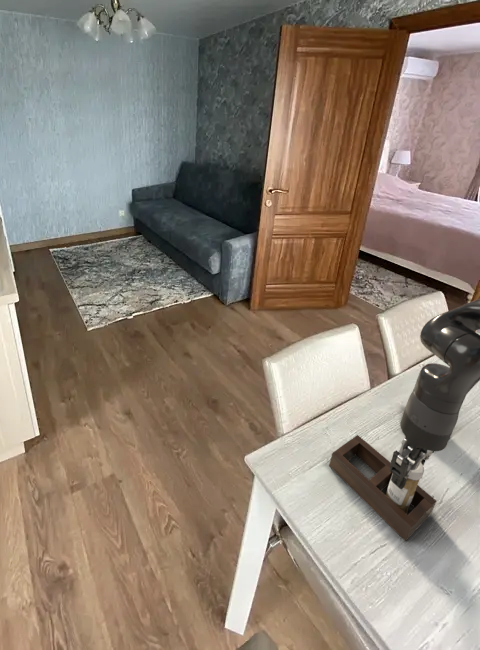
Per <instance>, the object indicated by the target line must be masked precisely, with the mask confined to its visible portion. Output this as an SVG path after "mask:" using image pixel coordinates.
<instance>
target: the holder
mask: <svg viewBox="0 0 480 650" xmlns="http://www.w3.org/2000/svg"><path fill="white" fill-rule="evenodd" d="M355 457H357V458H358V459H359V460H360V461H361V462H362V463H363V464H365V465H366V466H367V467H368V468H369V469H370V470H371V471H373V473H375V474H374V475H373V476H372V477H370V478H369V479H368V477H367V476H366V475H365V474H364V473H362V472H361V471H360V470H359V469H358V468H357V467H356V466H355V465H353V464H352V463H351V462H350V460H352V459H353V458H355ZM390 464H391V461H390V460H388V459H387V458H386V457H385V456H384V455H382V454H381V453H380V452H379V451H378V450H376V449H375V448H374V447H373V446H372V445H370V444H369V443H368V442H367V441H365V439H363V438H362V437H361V436H360V435H359V434H357V435H355V436H353V437H352V438H351V439H350V440H349V441H347V442H346V443H344V444H343V445H341V446H340V447H338V448H337V449H336V450H334V451H333V452H332V453H331V456H330V461H329V464H328V467H329V468H330V469H331V470H332V471H333V472H335V473H336V475H337V476H338V477H339V478H340V479H342V481H344V483H345V484H347V486H349V487H350V488H351V490H352V491H354V492H355V493H356V494H357V495H358V496H359V497H360V498H361V499H362V500H363V501H364V502H365V503H366V504H367V505H368V506H369V507H370V508H371V509H373V511H374V512H375V513H376V514H377V515H378V516H379V517H380V518H381V519H382V520H383V521H384V522H385V523H386V524H387V525H388V526H389V527H390V528H391V529H392V530H394V531H395V533H396V534H398V535H399V537H400V538H402V539H403V540H404V541H405V542H407V540H408V539H410V538H411V536H412V535H413V534H414V533H415V532H416V531H417V530H418V529H419V527H420V526H421V525H422V524H423V523H424V522H425V521H426V520H427V519H428V518H429V517H430V516H431V514H432V513H433V510H434V508H435V506H436V504H437V502H438V501H437V500H436V499H435V498H434V497H433V496H432V495H430V494H429V493H428V492H426V490H424V489H423V488H422V487H421V486H419V484H418V485H417V487H416V491H415V493H414V496H413V499H412V501H411V504H410V506H412V507H413V509H412V510H411V511H410V512H409V513H407V514H405V513H404V512H403V511H402V510H401V509H400V508H399V507H398V506H397V505H396V504H395V503H394V502H392V501H391V500H390V499H389V498H388V497H387V496H386V493H384V492H383V490H384V489H385V488H386V487H388V485H389V483H390V480H391V477H392V474H393V473H392V472H390V471H389V468H390Z"/></svg>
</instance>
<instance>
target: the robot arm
mask: <svg viewBox="0 0 480 650" xmlns="http://www.w3.org/2000/svg"><path fill="white" fill-rule="evenodd" d="M476 331H480V297H478V298H476V299H475V300H473V301H469V302H467V303H465V304H462V305H460V306H458V307H455V308H453V309H450V310H447V311H445V312H443V313H440V314H437V315H436V316H433V317H432V318H431V319H429V320H428V321H427V322H426V323H425V324H424V325H423V327H422V328H421V330H420V335H419V338H420V339H419V340H420V342H421V344H422V345H423V347H424V348H425V349H426V350H428V351H429V352H430V353H432V354H433V355H434V356H435V357H437V358H438V359H439V360H440V361H442V362H443V363H444V364H445V365H444V364H440V363H436V362H435V363H434V362H433V363H432V362H431V363H427V364H425V365H423V366H422V367H421V369H420V371H419V373H418V375H417V379H416V381H415V384H414V387H413V390H412V391H411V392H410V395H409V397H408V399H407V401H406V405H405V407H404V411H403V413H402V417H401V419H400V421H399V422H400V423H399V425H400V429H401V432H402V434H403V435H404V438H403V439H402V441H401V446H400V448H399V450H394V451H393V453H392V457H391V460H390V462H391V464H390V468H389V471H390V472H392V473H393V475H392V478H391V481H392V482H393V483H394V484H395V485H396V486H397V487H398V488H400V489H403V488H404V486H405V484H406V481H407V478H408V477H409V475H410V473H411V471H412V470H415V469H417V468H418V466H419V464H420V462H421V463H422V465H423V467H425V463H426V461H429V459H430V457H431V456H432V455H433V454H434V453H435V452H440V451H443V450H445V449H446V448H447V446H448V444H449V441H450V440H451V436H452V434H453V433H454V430H455V426H456V425H457V422H458V419H459V415H460V411H461V408H462V406H463V403H464V401H465V400H466V396H467V395H468V394H469V392H470V391H471V390H472V389H473V388H474V387H475V386H476V385H477V384H478V383H479V382H480V334H479V333H478V332H476ZM407 458H410V459H411V460H412V461H415V463H414V464H413V463H412V462H410V461H409V460H408V459H407Z"/></svg>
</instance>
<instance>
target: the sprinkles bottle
mask: <svg viewBox="0 0 480 650" xmlns="http://www.w3.org/2000/svg"><path fill="white" fill-rule="evenodd" d="M407 459H408V460H409V461H410V462H412V463H413V464H414V463H415V461H412V460H411V459H410V458H407ZM424 473H425V466H423V465H422V463H421V462H420V464H419V466H418V468H417V469H415V470H412V471H411V473H410V475H409V477H408V478H407V481H406V484H405V486H404V488H403V489H400V488H398V487H397V486H396V485H395V484H394V483H393V482H392V481H391V480H390V483H389V485H387V488H386V489H387V490H386V491H385V495H386V496H387V497H388V498H389V499H390V500H391V501H392V502H394V503H395V504H396V505H397V506H398V507H399V508H400V509H401V510H402V511H403V512H404V513H405V514H407V515H408V512H409V508H410V506H411V501H412V499H413V496H414V493H415V491H416V487H417V485H418V486H419V483H420V480H421V479H423V475H424ZM392 475H393V474H392ZM391 478H392V477H391Z"/></svg>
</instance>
